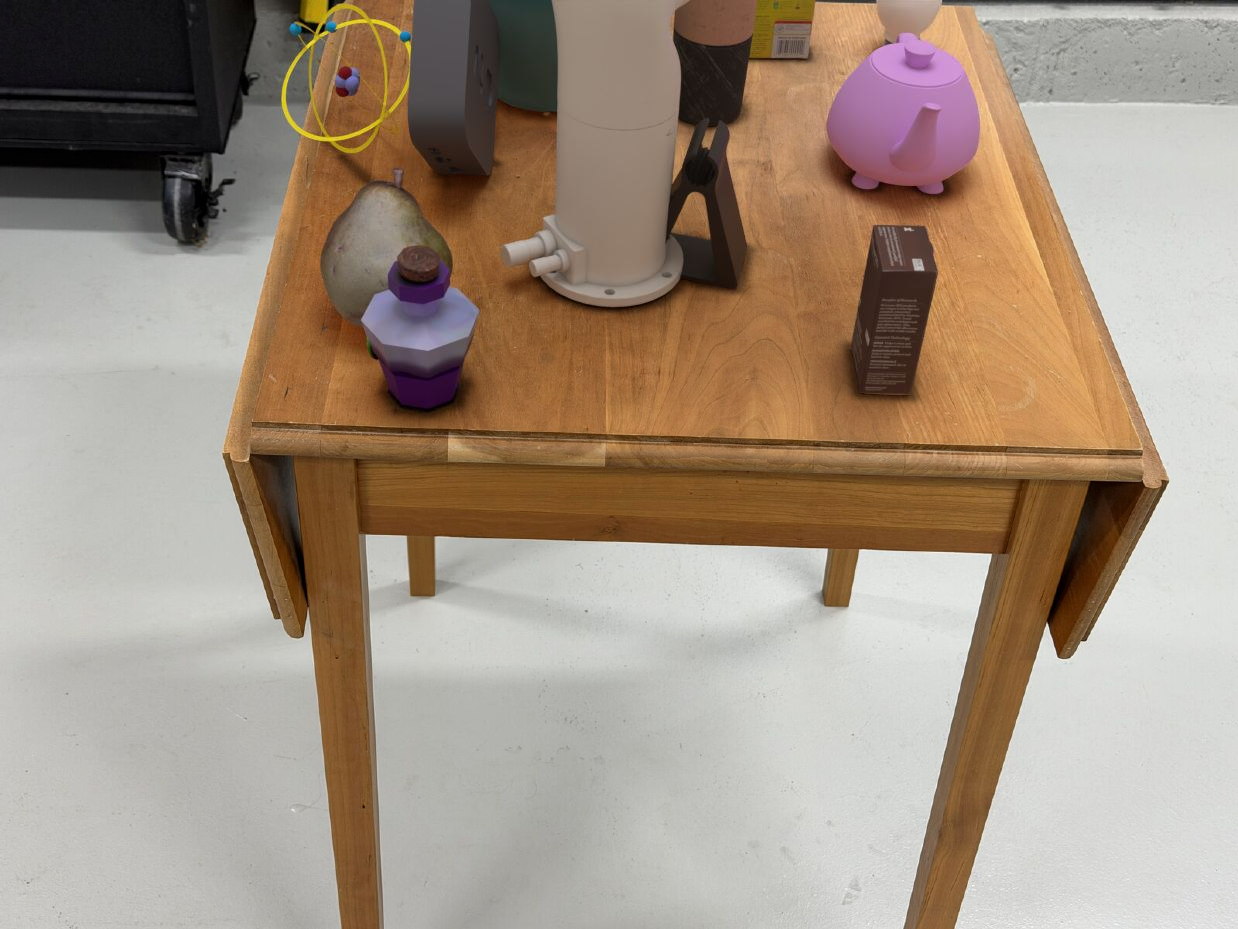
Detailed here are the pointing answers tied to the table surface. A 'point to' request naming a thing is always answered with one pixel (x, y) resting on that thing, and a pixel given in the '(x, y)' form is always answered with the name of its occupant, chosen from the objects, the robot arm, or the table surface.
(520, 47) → the flower pot
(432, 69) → the streaming box
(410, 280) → the potion bottle
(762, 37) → the crayon box
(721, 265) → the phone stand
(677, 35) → the travel mug
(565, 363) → the table surface
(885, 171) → the teapot
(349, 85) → the atom model
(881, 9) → the light bulb
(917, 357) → the box
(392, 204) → the fruit
